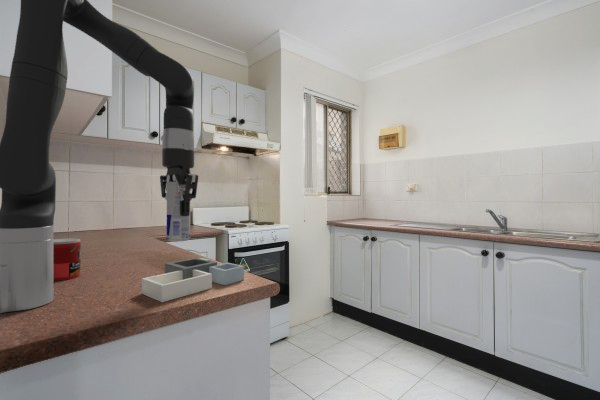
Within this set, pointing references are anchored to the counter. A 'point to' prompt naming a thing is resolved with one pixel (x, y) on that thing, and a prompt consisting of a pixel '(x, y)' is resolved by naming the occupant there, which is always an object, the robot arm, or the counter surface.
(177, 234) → the upright juice carton
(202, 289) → the trough
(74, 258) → the canned food
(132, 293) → the counter surface
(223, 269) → the blue-grey square bin
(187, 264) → the dark grey square bin
